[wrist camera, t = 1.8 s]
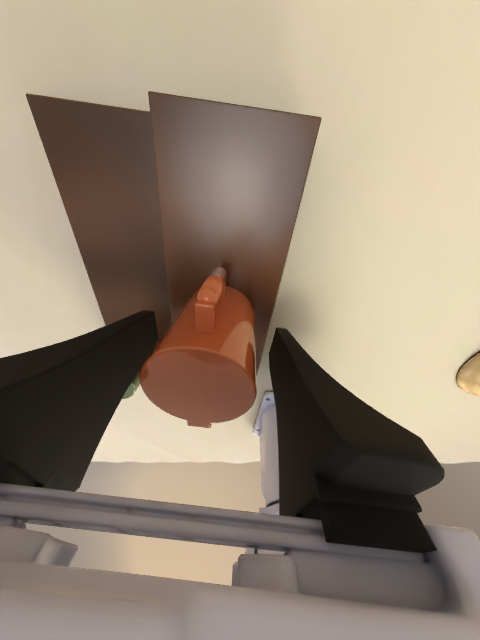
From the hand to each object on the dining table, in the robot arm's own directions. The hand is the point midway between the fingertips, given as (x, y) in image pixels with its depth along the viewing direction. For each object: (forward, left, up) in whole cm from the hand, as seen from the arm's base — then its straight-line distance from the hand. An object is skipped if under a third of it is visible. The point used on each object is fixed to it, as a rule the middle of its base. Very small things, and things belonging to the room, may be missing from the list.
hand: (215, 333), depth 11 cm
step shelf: (+1, +3, -5) cm, 6 cm away
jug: (0, 0, -2) cm, 2 cm away
